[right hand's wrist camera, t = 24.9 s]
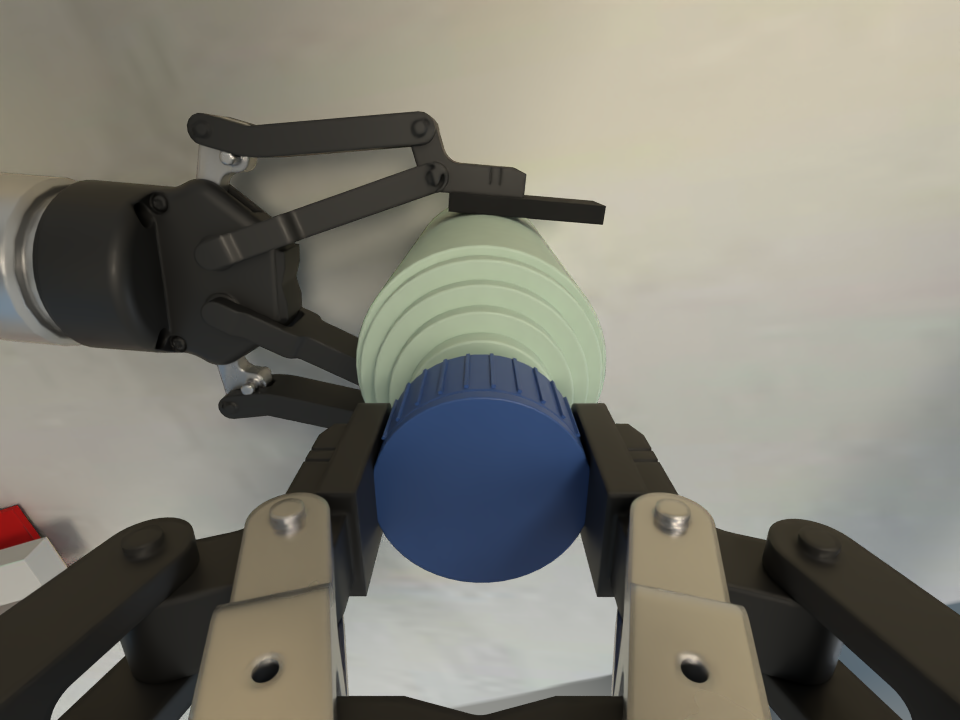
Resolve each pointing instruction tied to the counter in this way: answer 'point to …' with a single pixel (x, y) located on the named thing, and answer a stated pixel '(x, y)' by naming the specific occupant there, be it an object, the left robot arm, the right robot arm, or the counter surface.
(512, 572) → the cap
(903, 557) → the counter surface
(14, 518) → the toy
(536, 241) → the bottle
